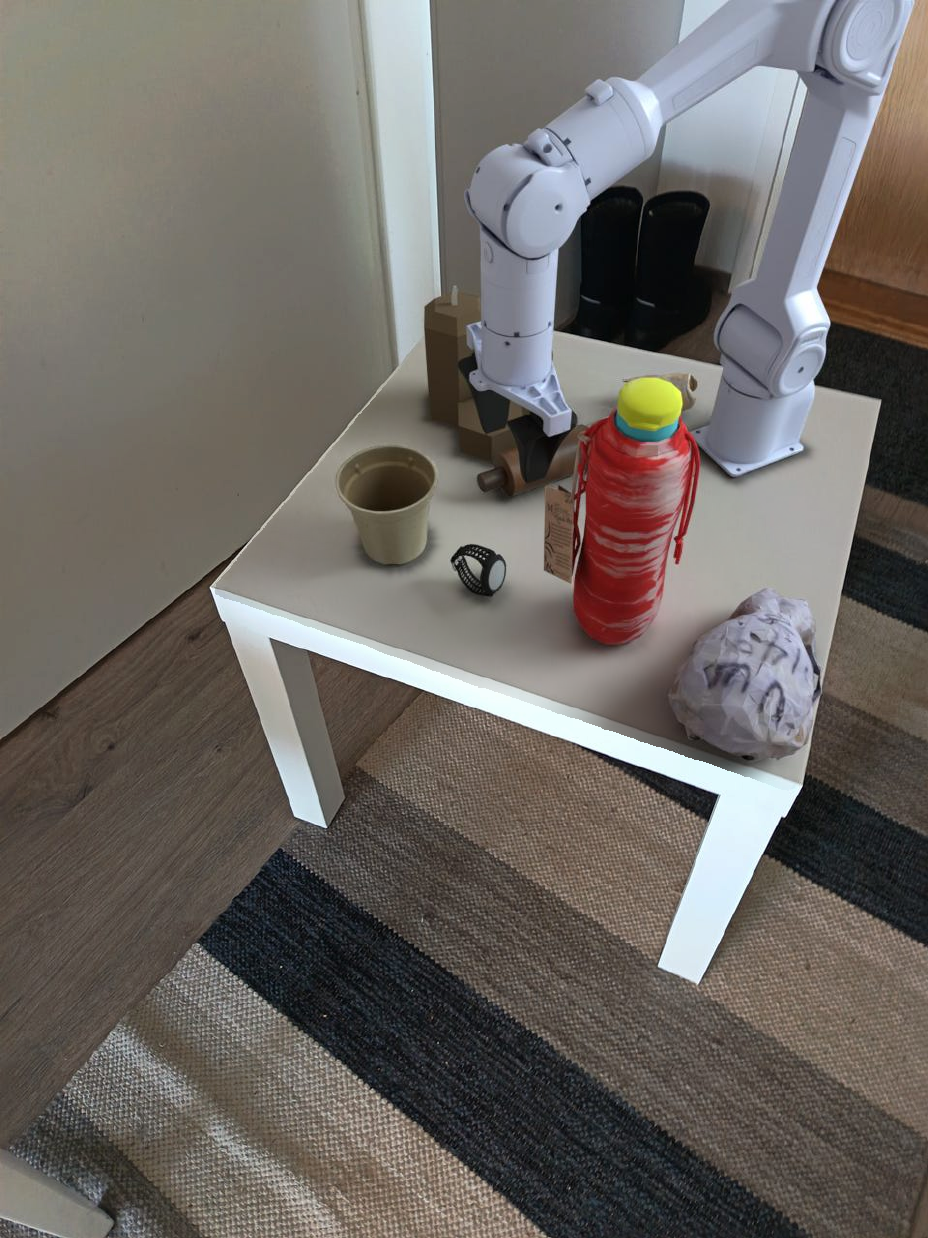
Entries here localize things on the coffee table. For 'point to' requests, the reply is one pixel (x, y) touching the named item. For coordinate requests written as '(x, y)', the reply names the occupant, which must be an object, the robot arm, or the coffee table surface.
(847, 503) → the coffee table surface
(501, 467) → the rolling pin
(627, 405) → the water bottle
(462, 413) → the candle
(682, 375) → the shell
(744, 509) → the coffee table surface
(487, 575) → the smartwatch
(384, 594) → the coffee table surface
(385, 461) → the flower pot
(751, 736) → the scribbled crumpled paper bundle
